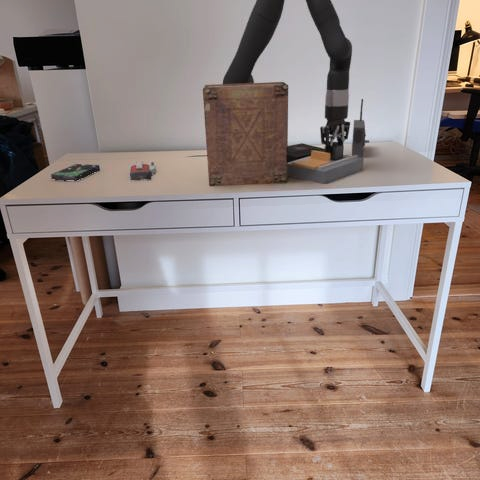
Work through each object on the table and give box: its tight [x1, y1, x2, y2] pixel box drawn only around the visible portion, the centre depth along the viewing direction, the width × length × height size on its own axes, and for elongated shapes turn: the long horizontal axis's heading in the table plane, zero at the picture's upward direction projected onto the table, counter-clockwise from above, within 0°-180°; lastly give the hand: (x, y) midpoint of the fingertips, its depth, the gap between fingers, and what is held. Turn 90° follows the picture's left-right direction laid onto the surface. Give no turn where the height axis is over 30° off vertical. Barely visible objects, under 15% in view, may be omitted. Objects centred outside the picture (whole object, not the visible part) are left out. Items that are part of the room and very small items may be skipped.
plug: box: [324, 141, 345, 161], centre depth 151 cm, size 5×5×8 cm
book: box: [202, 81, 289, 187], centre depth 139 cm, size 25×9×30 cm, turn 91°
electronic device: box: [351, 98, 370, 158], centre depth 170 cm, size 17×7×20 cm, turn 167°
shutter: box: [293, 150, 331, 170], centre depth 144 cm, size 9×10×3 cm
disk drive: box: [50, 163, 101, 182], centre depth 158 cm, size 10×3×15 cm
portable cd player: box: [287, 143, 325, 163], centre depth 168 cm, size 16×17×4 cm
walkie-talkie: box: [129, 161, 157, 181], centre depth 157 cm, size 9×4×20 cm
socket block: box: [287, 154, 364, 185], centre depth 150 cm, size 16×22×5 cm
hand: (334, 154), depth 151 cm, fingers open, 5 cm apart
